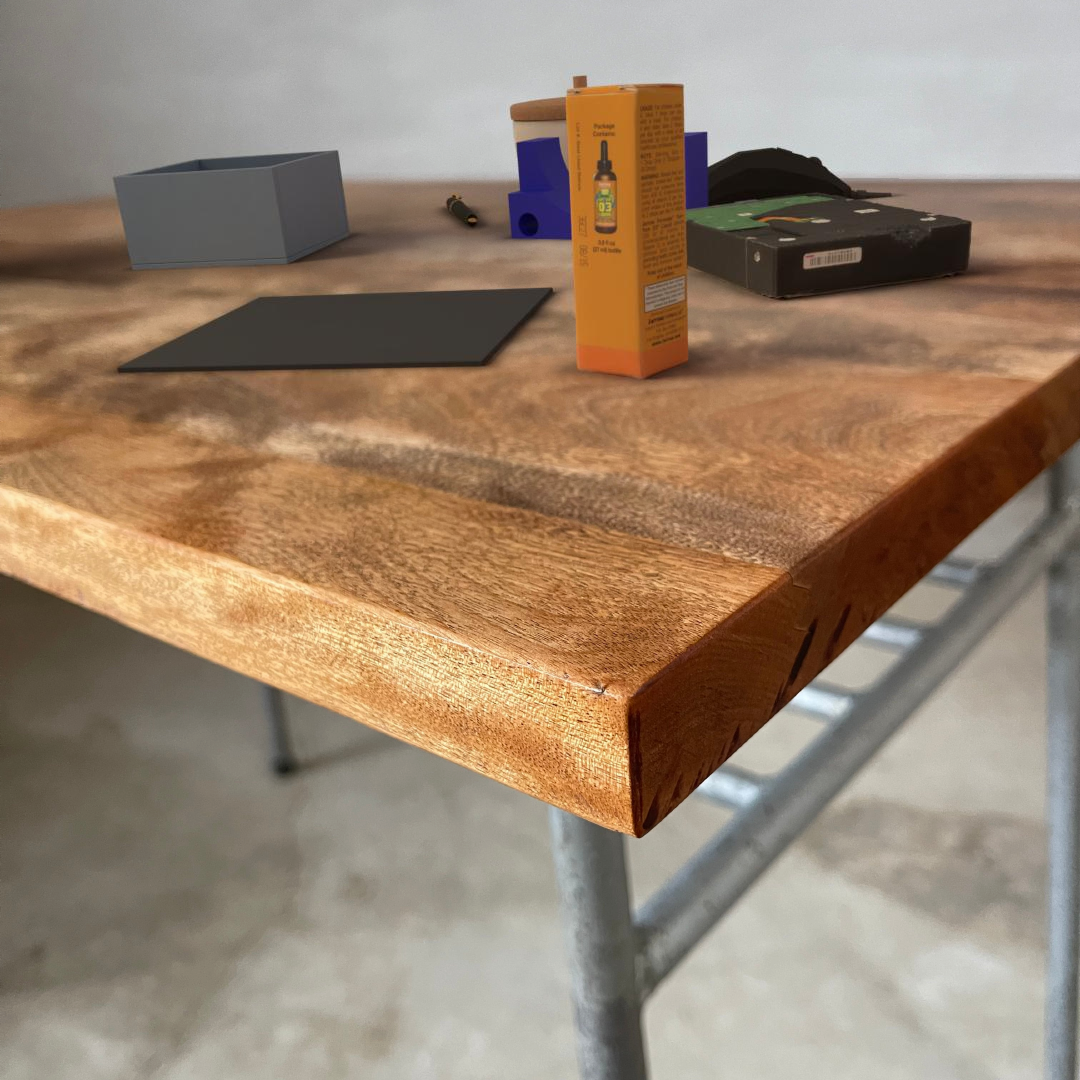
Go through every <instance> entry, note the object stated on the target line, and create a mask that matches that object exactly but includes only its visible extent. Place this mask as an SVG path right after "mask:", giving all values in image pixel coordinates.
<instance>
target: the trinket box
mask: <svg viewBox="0 0 1080 1080" xmlns="http://www.w3.org/2000/svg"><path fill="white" fill-rule="evenodd" d="M572 85H573V88H584V87H588V75H585V74H584V75H574V76H572ZM573 88H572V89H573ZM509 114H510V115H509V116H510V120H512V132H513V141H514V148H515V153H516V155H517V146H516V142H521V141H526V140H531V139H536V138H546V137H559V140H560V147H561V152H562V156H563V159H564V162H565V164H566V167H567V169H568V171H569V157H568V138H567V119H566V96H559V97H551V98H541V99H534V100H528V101H523V102H517V103H514V104H511V105H510V106H509Z"/></svg>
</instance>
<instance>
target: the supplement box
mask: <svg viewBox="0 0 1080 1080" xmlns="http://www.w3.org/2000/svg"><path fill="white" fill-rule="evenodd" d="M565 92H566V94H565V97H566V119H567V138H568V157H569V179H570V202H571V225H572V239H571V243H572V244H571V247H572V248H571V249H572V266H573V267H572V268H573V269H572V270H573V272H572V273H573V291H574V293H573V294H574V315H575V316H574V317H575V340H576V341H575V343H576V345H575V346H576V350H575V352H576V367H577V369H578V371H581V372H582V371H583V372H590V373H597V374H604V375H613V376H619V377H626V378H631V379H637V380H645V379H648V378H650V377H652V376H654V375H657V374H658V373H661V372H664V371H666V370H668V369H671V368H673V367H675V366H678V365H680V364H683V363H685V362H687V361H689V319H688V318H689V315H688V314H689V313H688V312H689V311H688V308H689V307H688V267H687V249H686V196H685V191H686V188H685V138H684V133H685V99H684V98H685V93H684V92H685V84H683V83H670V82H668V83H667V82H666V83H665V82H664V83H663V82H661V83H660V82H659V83H630V84H629V83H628V84H609V85H597V86H587V87H584V88H568V89H566V90H565Z"/></svg>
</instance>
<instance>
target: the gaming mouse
mask: <svg viewBox="0 0 1080 1080" xmlns="http://www.w3.org/2000/svg"><path fill="white" fill-rule="evenodd" d="M807 193H821V194H828V195H831V196H832V195H837V196H841V197H845V198H846V197H847V198H851V199H854V200H866V199H877V198H891V197H893V194H892V192H877V191H876V192H875V191H867V189H857V190H855V189H852V187H851V186H850V185H848V184H847V183H846V182H845V181H843V180H842V179H841V178H839V177H838V176H837V175H836V174H834V173H833V172H831V171H830V170H829V169H828V168H827V166H825V165H823V162H822V160H821V159H820V158H819V157H818V156H814V155H813V156H809V157H807V156H806V155H803V154H800V153H796V152H793V150H788V149H785V148H782V147H778V146H777V147H765V148H757V149H748V150H740V151H739V150H738V151H737V152H734V153H732V154H730V155H729V156H727V157H725V158H723V159H720V160H718V161H717V162H714V163H713V164H710V165H708V207H709V206H716V205H724V204H731V203H735V202H739V201H747V200H760V199H767V198H774V197H783V196H791V195H800V194H807Z"/></svg>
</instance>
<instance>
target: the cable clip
mask: <svg viewBox="0 0 1080 1080" xmlns="http://www.w3.org/2000/svg"><path fill="white" fill-rule="evenodd" d="M684 138H685V188H686V191H685V196H686V209H694V208H702V207H708V167H709V153H708V152H709V149H708V148H709V145H708V142H709V141H708V140H709V139H708V131H688V132H687V131H684ZM516 146H517V154H516V158H517V171H518V181H519V182H518V184H519V190H517V191H513V192H510V193H507V200H508V211H509V212H508V214H509V223H510V236H511V237H510V238H511V240H512V239H514V240H515V239H518V240H522V239H523V240H572V225H571V202H570V179H569V171H568V169H567V167H566V164H565V162H564V159H563V156H562V152H561V147H560V140H559V137H546V138H536V139H531V140H526V141H521V142H516Z"/></svg>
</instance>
